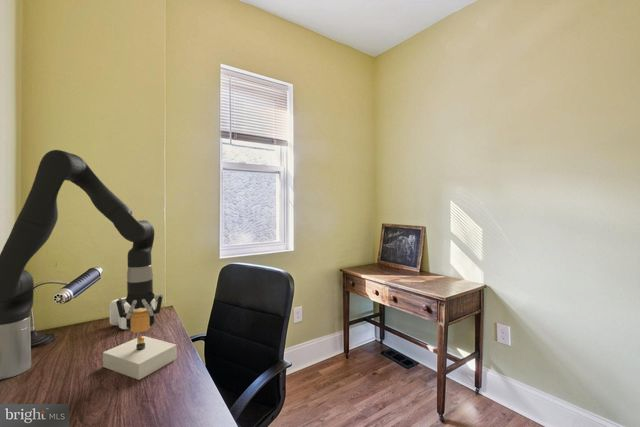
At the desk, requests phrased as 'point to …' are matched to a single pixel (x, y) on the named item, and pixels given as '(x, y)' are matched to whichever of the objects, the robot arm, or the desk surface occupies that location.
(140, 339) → the pigtail
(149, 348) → the box
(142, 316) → the orange lidded jar
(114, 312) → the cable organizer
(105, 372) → the desk surface
